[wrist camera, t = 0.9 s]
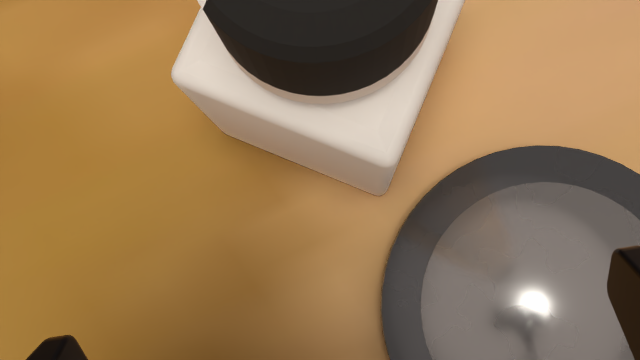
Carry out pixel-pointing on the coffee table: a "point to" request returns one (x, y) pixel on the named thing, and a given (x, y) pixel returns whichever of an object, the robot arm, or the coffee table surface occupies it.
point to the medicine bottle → (318, 77)
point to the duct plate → (513, 260)
